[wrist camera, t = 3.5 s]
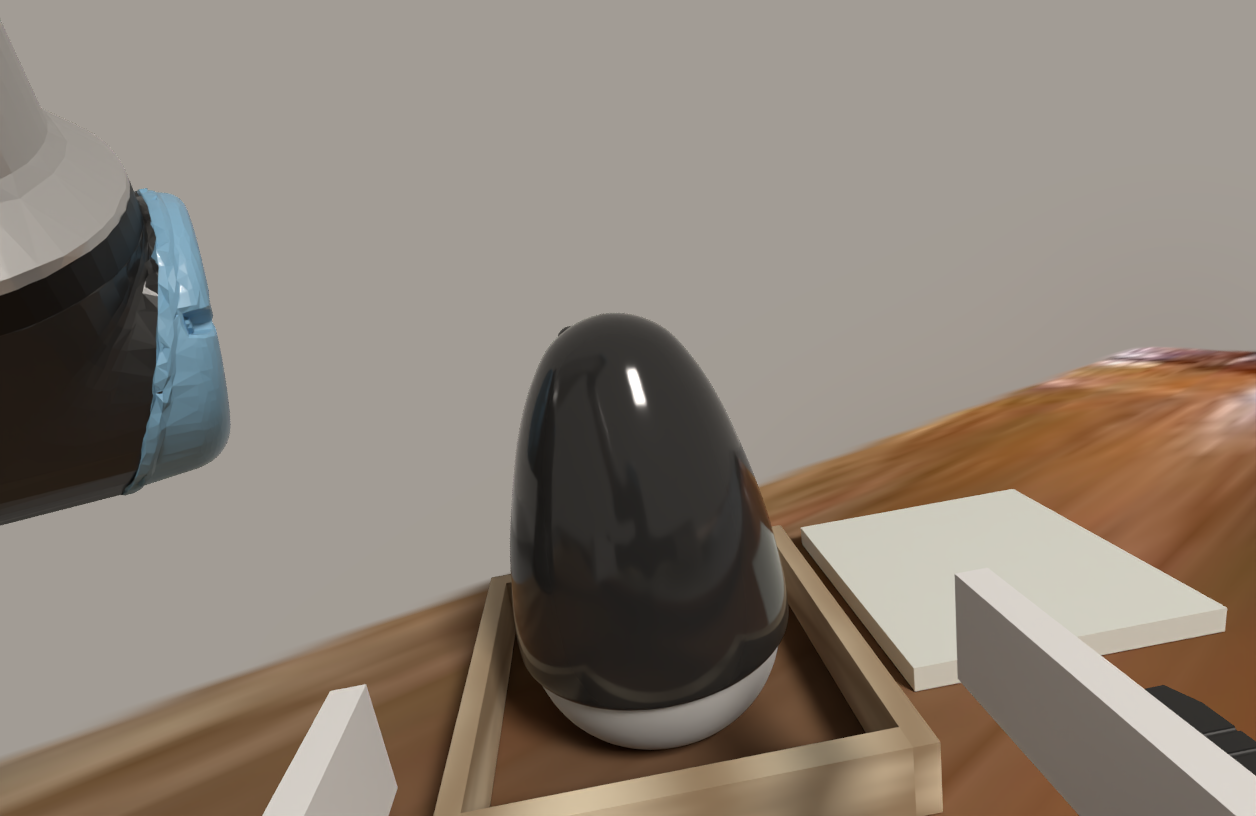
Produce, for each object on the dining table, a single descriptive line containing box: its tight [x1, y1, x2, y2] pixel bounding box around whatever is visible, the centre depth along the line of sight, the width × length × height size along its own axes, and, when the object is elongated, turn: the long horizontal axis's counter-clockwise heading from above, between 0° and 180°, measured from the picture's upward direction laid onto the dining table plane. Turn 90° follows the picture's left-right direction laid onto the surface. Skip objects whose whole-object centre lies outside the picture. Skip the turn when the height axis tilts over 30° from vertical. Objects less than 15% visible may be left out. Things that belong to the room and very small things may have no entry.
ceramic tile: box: [801, 489, 1227, 691], centre depth 30 cm, size 12×12×1 cm
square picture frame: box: [433, 525, 943, 816], centre depth 25 cm, size 15×15×2 cm
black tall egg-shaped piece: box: [510, 313, 789, 750], centre depth 24 cm, size 10×10×15 cm
